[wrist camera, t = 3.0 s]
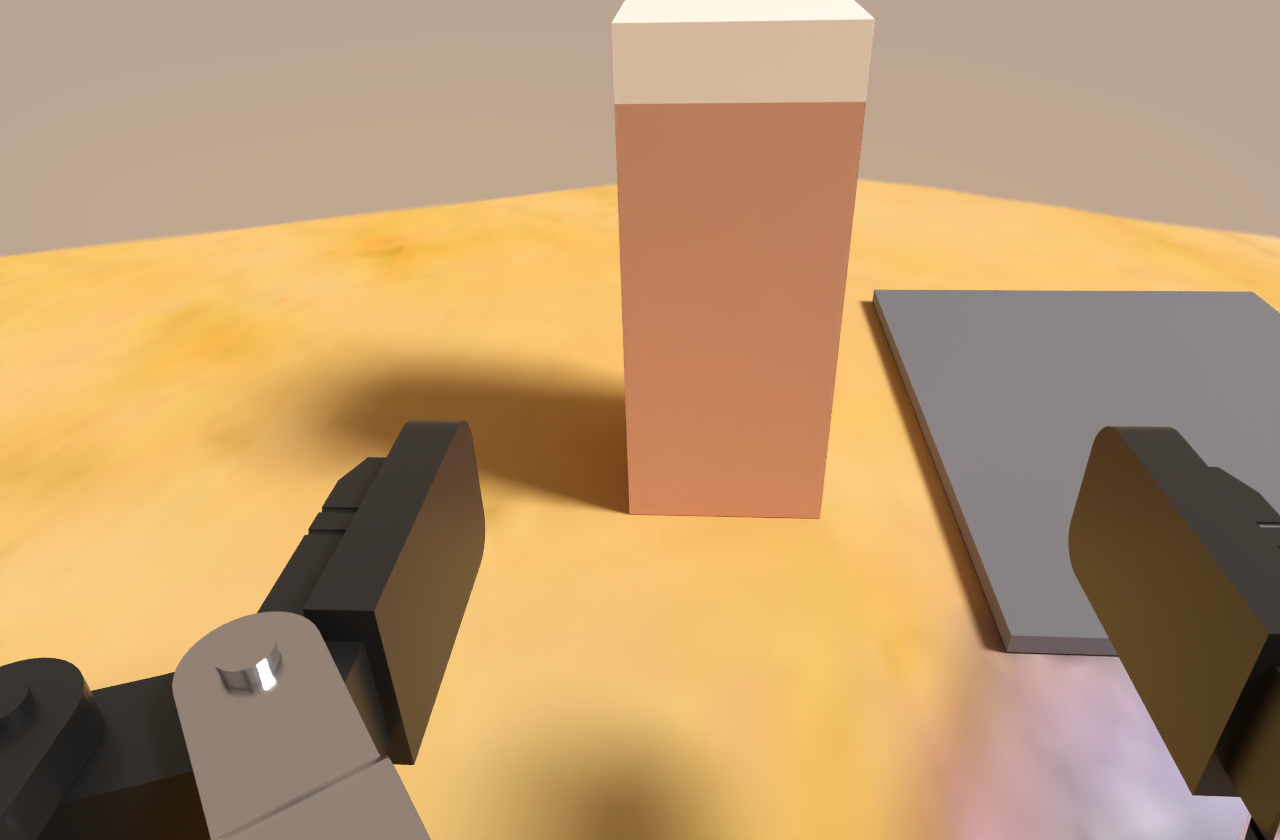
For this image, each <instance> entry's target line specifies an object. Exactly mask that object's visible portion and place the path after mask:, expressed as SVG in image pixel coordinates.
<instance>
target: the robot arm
mask: <svg viewBox="0 0 1280 840" xmlns="http://www.w3.org/2000/svg"><path fill="white" fill-rule="evenodd" d="M308 530H309V533H308V535H305V536H304V537H303V539H302V541H301V542H300V544H299V545H298V547H297V549H296V550H295V552H294V554H293V555H292V557H291V558H290V560H289V562H288V563H287V565H286V567H285V568H284V570H283V572H282V573H281V575H280V576H279V578H278V580H277V581H276V583H275V585H274V586H273V588H272V589H271V591H270V593H269V594H268V596H267V598H266V599H265V601H264V603H263V604H262V606H261V607H260V609H259V611H258V612H257V613H256V614H252V615H248V616H244V617H241V618H239V619H236V620H233V621H231V622H229V623H226V624H224V625H222V626H220V627H218V628H217V629H215V630H213V631H212V632H210V633H209V634H207V635H206V636H204V637H203V638H202V639H200V640H199V641H198V642H197V643H196V644H195V645H194V646H193V647H191V648H190V650H189V651H188V652H187V653H186V654H185V655H184V657H183V658H182V660H181V661H180V663H179V665H178V666H177V668H176V671H175V672H172V673H169V674H165V675H161V676H157V677H152V678H147V679H143V680H138V681H134V682H129V683H125V684H120V685H116V686H111V687H107V688H102V689H98V690H93V691H90V689H89V687H88V685H87V683H86V681H85V679H84V677H83V676H82V674H81V672H80V670H79V669H78V668H77V667H76V666H74V665H73V664H72V663H69V662H67V661H65V660H61V659H56V658H34V659H27V660H22V661H17V662H14V663H11V664H7V665H4V666H1V667H0V840H431V839H430V837H429V835H428V833H427V831H426V829H425V827H424V825H423V823H422V821H421V819H420V817H419V815H418V813H417V811H416V809H415V807H414V805H413V803H412V801H411V799H410V797H409V795H408V793H407V791H406V789H405V787H404V785H403V783H402V781H401V779H400V777H399V775H398V773H397V771H396V769H395V767H394V765H393V764H401V765H414V764H415V761H416V757H417V754H418V751H419V748H420V745H421V742H422V739H423V736H424V733H425V730H426V727H427V724H428V721H429V718H430V715H431V712H432V709H433V706H434V703H435V700H436V697H437V694H438V691H439V688H440V685H441V682H442V679H443V676H444V673H445V670H446V667H447V664H448V661H449V658H450V655H451V652H452V648H453V645H454V642H455V639H456V636H457V633H458V630H459V627H460V624H461V621H462V618H463V615H464V612H465V609H466V606H467V603H468V600H469V597H470V594H471V591H472V588H473V585H474V582H475V579H476V576H477V573H478V570H479V567H480V564H481V560H482V556H483V550H484V542H485V517H484V510H483V503H482V497H481V491H480V484H479V478H478V472H477V465H476V459H475V453H474V446H473V440H472V435H471V431H470V428H469V425H468V424H467V422H465V421H413V420H410V421H408V422H407V423H406V424H405V425H404V427H403V429H402V431H401V432H400V434H399V436H398V438H397V440H396V441H395V443H394V445H393V447H392V449H391V450H390V452H389V454H388V456H387V458H378V457H368V458H367V459H365V460H364V461H363V462H362V463H360V464H359V465H358V466H356V467H355V468H354V469H352V470H351V471H350V472H349V473H347V474H346V475H345V476H343V477H342V478H341V479H340V480H338V482H337V483H336V485H335V487H334V488H333V490H332V492H331V493H330V495H329V497H328V498H327V500H326V501H325V503H324V505H323V506H322V513H321V512H319V513H318V514H317V516H316V518H315V519H314V521H313V523H312V524H311V526H310V528H309V529H308ZM1068 547H1069V556H1070V561H1071V565H1072V568H1073V571H1074V573H1075V575H1076V577H1077V579H1078V581H1079V583H1080V585H1081V587H1082V589H1083V591H1084V592H1085V594H1086V596H1087V598H1088V600H1089V602H1090V604H1091V606H1092V607H1093V609H1094V611H1095V613H1096V615H1097V617H1098V619H1099V621H1100V622H1101V624H1102V626H1103V628H1104V630H1105V632H1106V634H1107V636H1108V637H1109V639H1110V641H1111V643H1112V645H1113V647H1114V649H1115V651H1116V653H1117V654H1118V656H1119V658H1120V660H1121V662H1122V664H1123V666H1124V668H1125V669H1126V671H1127V673H1128V675H1129V677H1130V679H1131V681H1132V683H1133V684H1134V686H1135V688H1136V690H1137V692H1138V694H1139V696H1140V698H1141V699H1142V701H1143V703H1144V705H1145V707H1146V709H1147V711H1148V713H1149V714H1150V716H1151V718H1152V720H1153V722H1154V724H1155V726H1156V728H1157V729H1158V731H1159V733H1160V735H1161V737H1162V739H1163V741H1164V743H1165V744H1166V746H1167V748H1168V750H1169V752H1170V754H1171V756H1172V758H1173V760H1174V761H1175V763H1176V765H1177V767H1178V769H1179V771H1180V773H1181V775H1182V776H1183V778H1184V780H1185V782H1186V784H1187V786H1188V788H1189V790H1190V791H1191V793H1192V795H1200V796H1229V797H1241V799H1242V801H1243V802H1244V804H1245V806H1246V807H1247V809H1248V811H1249V813H1250V814H1249V816H1248V818H1247V820H1246V822H1245V823H1244V825H1243V827H1242V829H1241V831H1240V833H1239V836H1238V839H1237V840H1280V515H1279V514H1278V513H1277V512H1276V511H1275V510H1274V508H1273V507H1272V506H1271V505H1270V504H1269V503H1268V502H1267V501H1266V500H1265V499H1264V497H1263V496H1262V495H1261V494H1260V493H1259V492H1257V491H1256V490H1254V489H1253V488H1251V487H1249V486H1248V485H1246V484H1245V483H1243V482H1241V481H1240V480H1238V479H1237V478H1235V477H1233V476H1232V475H1230V474H1229V473H1227V472H1225V471H1224V470H1222V469H1221V468H1219V467H1208V466H1207V464H1206V463H1205V462H1204V461H1203V460H1202V459H1201V458H1200V456H1199V455H1198V454H1197V453H1196V452H1195V451H1194V449H1193V448H1192V447H1191V446H1190V445H1189V444H1188V442H1187V441H1186V440H1185V439H1184V438H1183V437H1182V435H1181V434H1180V433H1179V432H1178V431H1177V430H1176V429H1174V428H1172V427H1144V426H1107V427H1104V428H1102V429H1101V430H1100V431H1099V432H1098V434H1097V435H1096V437H1095V439H1094V442H1093V445H1092V449H1091V452H1090V456H1089V459H1088V463H1087V466H1086V470H1085V473H1084V477H1083V480H1082V484H1081V487H1080V491H1079V494H1078V498H1077V501H1076V505H1075V508H1074V512H1073V515H1072V519H1071V523H1070V527H1069V536H1068Z"/></svg>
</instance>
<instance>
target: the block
mask: <svg viewBox="0 0 1280 840" xmlns="http://www.w3.org/2000/svg"><path fill="white" fill-rule="evenodd" d="M874 24H875V19H874V18H873V17H872V16H871V15H870V14H869V13H867V12H866V11H865V10H864V9H863V8H862V7H861V6H860V5H859V4H858V3H857V2H855V1H854V0H625V2H624V3H623V5H622V7H621V8H620V10H619V12H618V13H617V15H616V17H615V18H614V20H613V22H612V49H613V77H614V101H615V102H614V104H615V132H616V157H617V158H616V159H617V186H618V213H619V240H620V267H621V295H622V322H623V349H624V376H625V403H626V430H627V458H628V485H629V512H630V514H644V515H690V516H736V517H781V518H820V512H821V503H822V494H823V485H824V476H825V467H826V458H827V449H828V440H829V431H830V422H831V413H832V403H833V394H834V385H835V376H836V367H837V358H838V349H839V340H840V331H841V322H842V313H843V304H844V295H845V286H846V277H847V268H848V259H849V250H850V241H851V232H852V223H853V214H854V205H855V196H856V187H857V178H858V168H859V160H860V151H861V141H862V133H863V124H864V114H865V105H866V97H867V88H868V79H869V70H870V61H871V51H872V41H873V33H874Z"/></svg>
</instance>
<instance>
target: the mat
mask: <svg viewBox="0 0 1280 840" xmlns="http://www.w3.org/2000/svg"><path fill="white" fill-rule="evenodd" d="M873 304H874V307H875V309H876V312H877V314H878V317H879V320H880V322H881V325H882V327H883V330H884V333H885V335H886V338H887V341H888V343H889V346H890V348H891V351H892V354H893V356H894V359H895V361H896V364H897V367H898V369H899V372H900V374H901V377H902V380H903V382H904V385H905V388H906V390H907V393H908V395H909V398H910V401H911V403H912V406H913V408H914V411H915V414H916V416H917V419H918V421H919V424H920V427H921V429H922V432H923V435H924V437H925V440H926V442H927V445H928V448H929V450H930V453H931V455H932V458H933V461H934V463H935V466H936V468H937V471H938V474H939V476H940V479H941V482H942V484H943V487H944V489H945V492H946V495H947V497H948V500H949V502H950V505H951V508H952V510H953V513H954V515H955V518H956V521H957V523H958V526H959V529H960V531H961V534H962V536H963V539H964V542H965V544H966V547H967V549H968V552H969V555H970V557H971V560H972V562H973V565H974V568H975V570H976V573H977V576H978V578H979V581H980V583H981V586H982V589H983V591H984V594H985V596H986V599H987V602H988V604H989V607H990V609H991V612H992V615H993V617H994V620H995V623H996V625H997V628H998V630H999V633H1000V636H1001V638H1002V641H1003V643H1004V646H1005V649H1006V651H1007V652H1024V653H1055V654H1087V655H1118V654H1117V653H1116V651H1115V649H1114V647H1113V645H1112V643H1111V641H1110V639H1109V637H1108V636H1107V634H1106V632H1105V630H1104V628H1103V626H1102V624H1101V622H1100V621H1099V619H1098V617H1097V615H1096V613H1095V611H1094V609H1093V607H1092V606H1091V604H1090V602H1089V600H1088V598H1087V596H1086V594H1085V592H1084V591H1083V589H1082V587H1081V585H1080V583H1079V581H1078V579H1077V577H1076V575H1075V573H1074V571H1073V568H1072V565H1071V561H1070V556H1069V547H1068V536H1069V527H1070V523H1071V519H1072V515H1073V512H1074V508H1075V505H1076V501H1077V498H1078V494H1079V491H1080V487H1081V484H1082V480H1083V477H1084V473H1085V470H1086V466H1087V463H1088V459H1089V456H1090V452H1091V449H1092V445H1093V442H1094V439H1095V437H1096V435H1097V434H1098V432H1099V431H1100V430H1101V429H1102V428H1104V427H1107V426H1144V427H1172V428H1174V429H1176V430H1177V431H1178V432H1179V433H1180V434H1181V435H1182V437H1183V438H1184V439H1185V440H1186V441H1187V442H1188V444H1189V445H1190V446H1191V447H1192V448H1193V449H1194V451H1195V452H1196V453H1197V454H1198V455H1199V456H1200V458H1201V459H1202V460H1203V461H1204V462H1205V463H1206V464H1207V466H1208V467H1219V468H1221V469H1222V470H1224V471H1225V472H1227V473H1229V474H1230V475H1232V476H1233V477H1235V478H1237V479H1238V480H1240V481H1241V482H1243V483H1245V484H1246V485H1248V486H1249V487H1251V488H1253V489H1254V490H1256V491H1257V492H1259V493H1260V494H1261V495H1262V496H1263V497H1264V499H1265V500H1266V501H1267V502H1268V503H1269V504H1270V505H1271V506H1272V507H1273V508H1274V510H1275V511H1276V512H1277V513H1278V514H1279V515H1280V313H1279V312H1278V311H1276V310H1275V309H1274V308H1273V307H1271V306H1270V305H1269V304H1267V303H1266V302H1265V301H1264V300H1262V299H1261V298H1260V297H1258V296H1257V295H1256V294H1255V293H1253V292H1198V291H1005V290H874V295H873Z"/></svg>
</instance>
